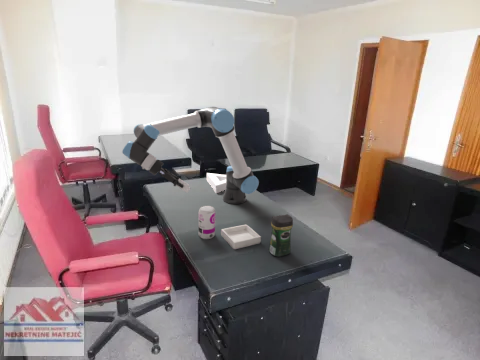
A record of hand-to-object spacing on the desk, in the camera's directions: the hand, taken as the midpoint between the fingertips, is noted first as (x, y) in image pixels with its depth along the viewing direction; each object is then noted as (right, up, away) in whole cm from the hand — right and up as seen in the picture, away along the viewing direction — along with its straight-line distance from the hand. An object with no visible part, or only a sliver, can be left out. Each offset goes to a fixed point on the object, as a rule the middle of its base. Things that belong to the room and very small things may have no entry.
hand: (188, 188), depth 157 cm
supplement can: (+9, -24, -1) cm, 26 cm away
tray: (+26, -25, -3) cm, 37 cm away
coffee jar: (+45, -29, -13) cm, 55 cm away
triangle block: (+12, -2, +68) cm, 69 cm away
